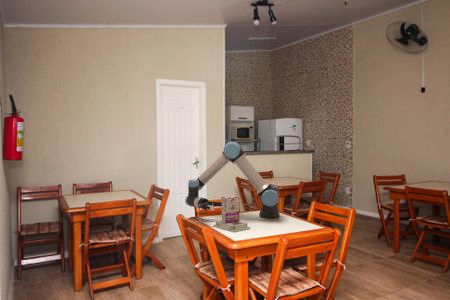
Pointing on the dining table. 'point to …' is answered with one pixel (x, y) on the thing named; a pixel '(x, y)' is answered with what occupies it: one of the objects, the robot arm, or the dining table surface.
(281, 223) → the dining table surface
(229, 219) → the candy bar box
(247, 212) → the dining table surface
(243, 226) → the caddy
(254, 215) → the dining table surface
